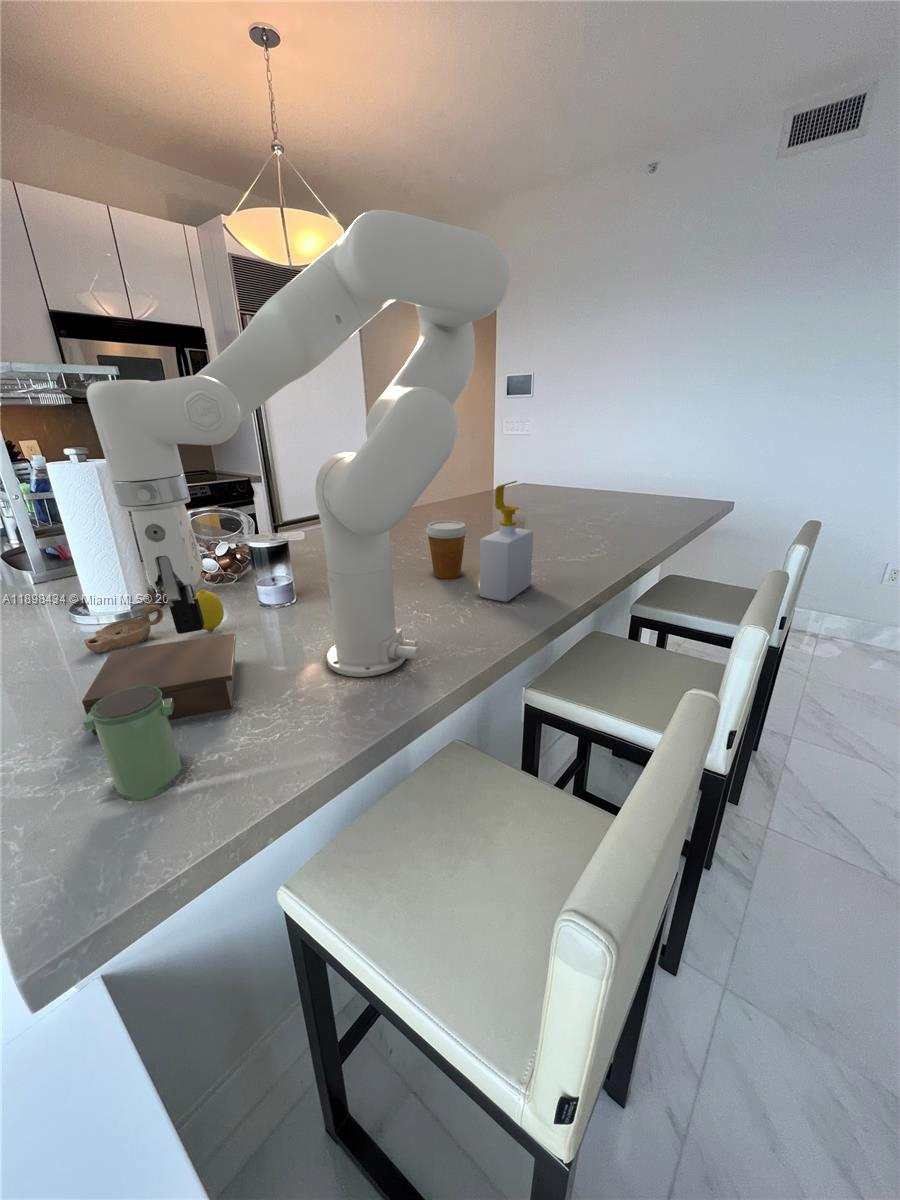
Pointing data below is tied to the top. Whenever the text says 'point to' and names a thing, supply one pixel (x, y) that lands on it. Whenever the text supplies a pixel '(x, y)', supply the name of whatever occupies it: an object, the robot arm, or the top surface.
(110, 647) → the oil lamp
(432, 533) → the disposable coffee cup
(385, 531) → the robot arm
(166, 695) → the chest
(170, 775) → the green pot
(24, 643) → the top surface
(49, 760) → the top surface
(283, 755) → the top surface
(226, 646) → the chest lid
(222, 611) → the lemon
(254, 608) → the top surface
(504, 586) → the soap bottle
